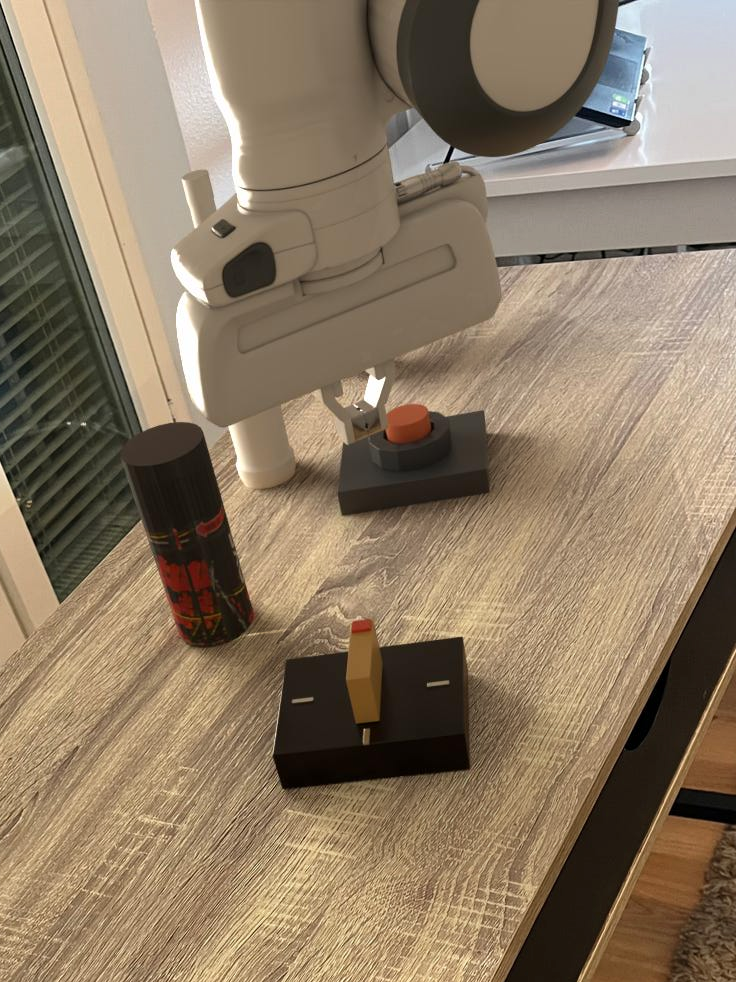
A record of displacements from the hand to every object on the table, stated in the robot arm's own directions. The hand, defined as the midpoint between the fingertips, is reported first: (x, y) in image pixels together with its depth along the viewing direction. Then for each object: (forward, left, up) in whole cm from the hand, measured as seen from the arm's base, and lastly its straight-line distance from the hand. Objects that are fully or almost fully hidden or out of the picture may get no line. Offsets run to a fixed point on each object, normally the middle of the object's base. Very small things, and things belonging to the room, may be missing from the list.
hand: (363, 434), depth 83 cm
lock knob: (+1, +12, -11) cm, 17 cm away
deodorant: (+14, -3, -15) cm, 20 cm away
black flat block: (+1, +12, -14) cm, 19 cm away
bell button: (-1, -21, -11) cm, 23 cm away
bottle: (+12, -25, -15) cm, 31 cm away
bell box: (-1, -21, -14) cm, 25 cm away
